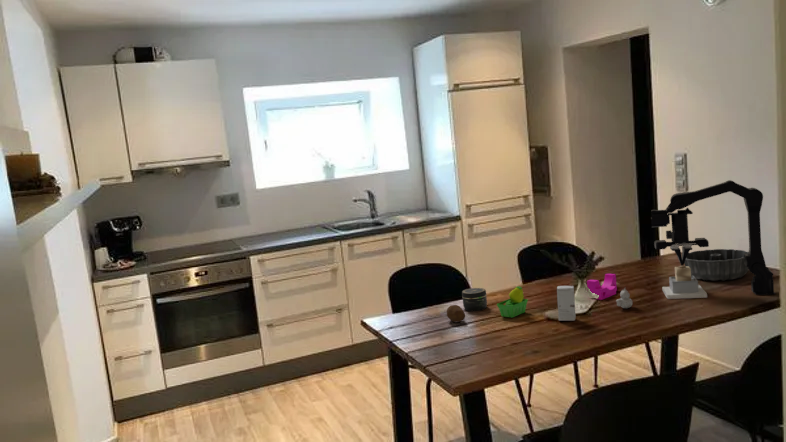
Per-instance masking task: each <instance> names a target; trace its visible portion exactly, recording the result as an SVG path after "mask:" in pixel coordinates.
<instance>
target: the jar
mask: <svg viewBox="0 0 786 442" xmlns="http://www.w3.org/2000/svg"><path fill="white" fill-rule="evenodd" d="M461 297H462V304H463V308H464V309H465V311H468V312H480V311H483V310H485V309H486V308H487V305H488V301H487V300H488V299H487V291H486V288H483V287H471V288H466V289H463V290H462V291H461Z"/></svg>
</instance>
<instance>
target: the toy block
mask: <svg viewBox="0 0 786 442" xmlns="http://www.w3.org/2000/svg"><path fill="white" fill-rule="evenodd" d="M603 279H604V280H603V283H602V285H601V284H600V280H599V279H588V280H586V285H587V286H586V288H587V287H588V288H589V289H590V291H591V292H592V293H595V294H597V295H599V298H598V299H597V300H600V301H602V300H605V299H607V298H610V297H612V296H614V295H617V291H618V288H617V274H616V273H605V274H604V278H603Z"/></svg>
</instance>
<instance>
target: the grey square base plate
mask: <svg viewBox="0 0 786 442" xmlns="http://www.w3.org/2000/svg"><path fill="white" fill-rule="evenodd" d="M668 281H669V286H662V289H661V290H662V292H663V294H664V296H665V297H666V300H675V299H676V300H678V299H700V298H701V299H702V298H703V299H704V298H706V299H707V298H708V294H707V291H705V290H704V288H703V287H702V286H701V285H700V284H699V279H696V278H695V277H694V276H691V281H676V279H675V276H669V277H668Z"/></svg>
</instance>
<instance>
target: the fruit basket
mask: <svg viewBox="0 0 786 442" xmlns="http://www.w3.org/2000/svg"><path fill="white" fill-rule="evenodd" d="M508 296H509V298H508V299H505V300H503V301H501V302H498V303H496V306H497V308H498V311H499V313H500V316H501V317H504V318H512V319H513V318H515V317H517V316H519V315H522V314H525V312H526V310H527V304H528V301H529V299H528V298H527V299H526V298H525V297H524V290H523V287H522V286H517V285H516V287H515V288H513V289H512V290H511V291H510V292H509V293H508Z"/></svg>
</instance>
